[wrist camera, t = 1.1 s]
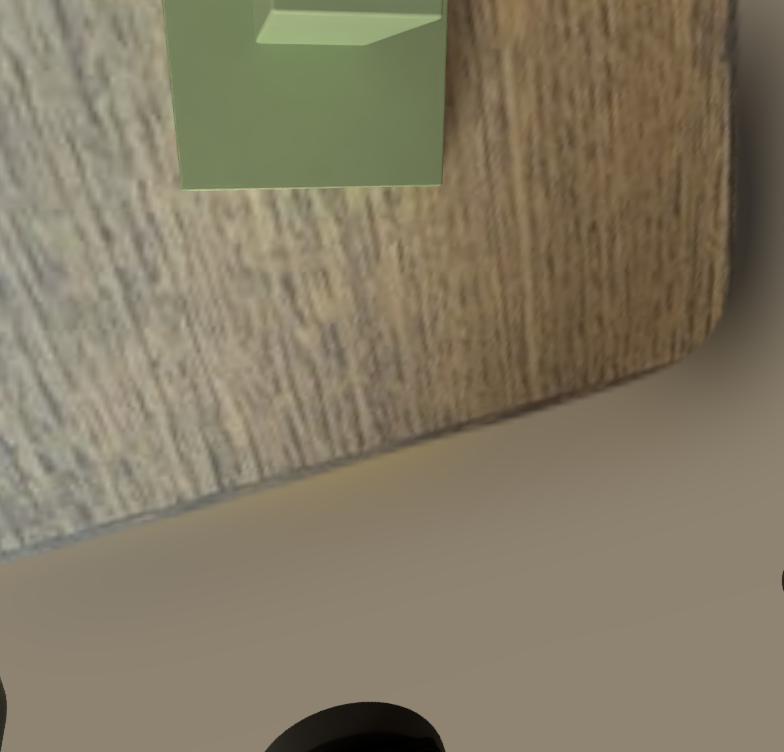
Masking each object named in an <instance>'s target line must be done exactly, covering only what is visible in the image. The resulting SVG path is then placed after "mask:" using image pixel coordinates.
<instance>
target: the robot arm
mask: <svg viewBox="0 0 784 752" xmlns="http://www.w3.org/2000/svg"><path fill="white" fill-rule="evenodd" d="M782 586H783V590H784V571H783V575H782ZM6 714H7V701H6V694H5V691H4V688H3V685H2V681H1V678H0V751H1V746H2V740H3V734H4V728H5V723H6ZM344 752H440V748H439V745H438V742H437V740H436V739H435V738H433V737H422V738H416V739H411V740H405V741H400V742H394V743H389V744H383V745H378V746H372V747H367V748H361V749H355V750H350V751H344Z"/></svg>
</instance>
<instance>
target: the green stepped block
mask: <svg viewBox="0 0 784 752" xmlns="http://www.w3.org/2000/svg"><path fill="white" fill-rule="evenodd" d="M162 4H163V14H164V24H165V34H166V43H167V53H168V63H169V73H170V82H171V92H172V102H173V112H174V121H175V131H176V141H177V151H178V160H179V170H180V180H181V189H182V190H183V191H208V190H259V189H310V188H361V187H411V186H441V185H442V174H443V143H444V112H445V81H446V50H447V19H448V0H162Z"/></svg>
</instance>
